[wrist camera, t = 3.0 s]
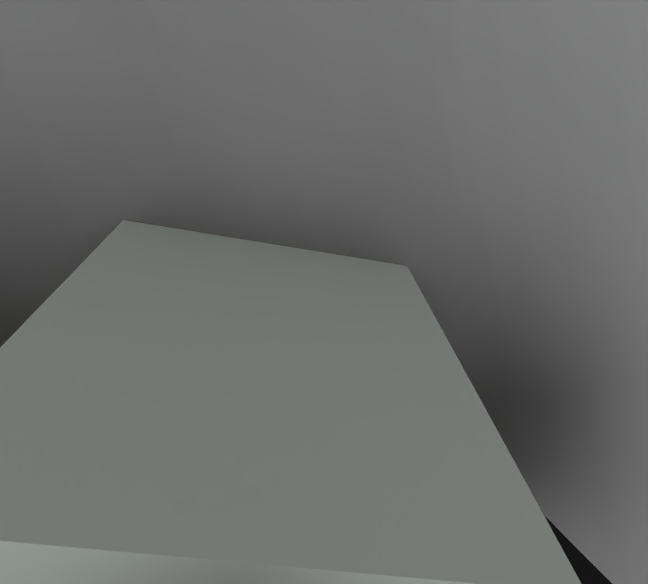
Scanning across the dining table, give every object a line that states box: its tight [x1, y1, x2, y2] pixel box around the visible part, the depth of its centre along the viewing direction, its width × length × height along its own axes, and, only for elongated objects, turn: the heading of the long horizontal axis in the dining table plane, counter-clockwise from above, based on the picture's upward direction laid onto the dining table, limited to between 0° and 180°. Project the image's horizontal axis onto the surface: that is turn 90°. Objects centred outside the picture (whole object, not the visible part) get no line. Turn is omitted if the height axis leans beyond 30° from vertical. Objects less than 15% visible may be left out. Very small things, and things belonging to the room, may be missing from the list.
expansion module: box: [0, 220, 581, 584], centre depth 7 cm, size 4×7×6 cm, turn 169°
